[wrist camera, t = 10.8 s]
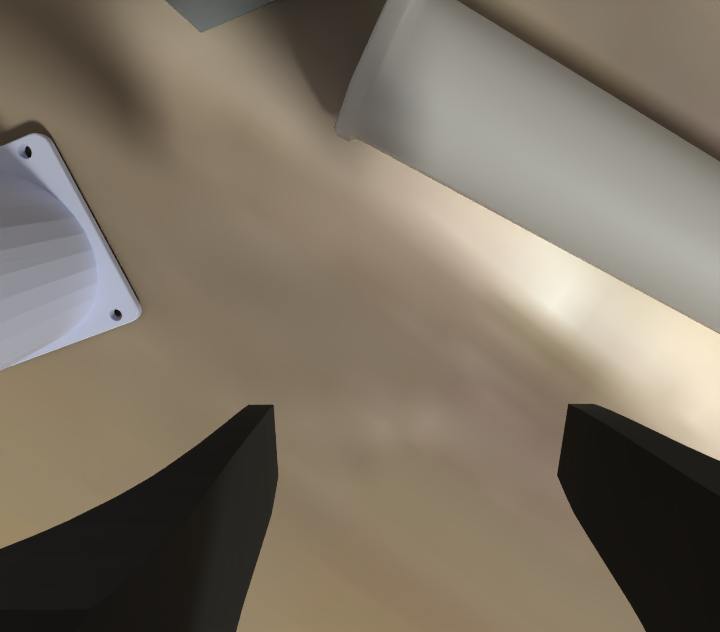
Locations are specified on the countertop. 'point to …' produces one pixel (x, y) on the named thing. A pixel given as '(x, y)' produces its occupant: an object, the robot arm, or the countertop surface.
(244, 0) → the hole block
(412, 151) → the tube
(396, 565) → the countertop surface
